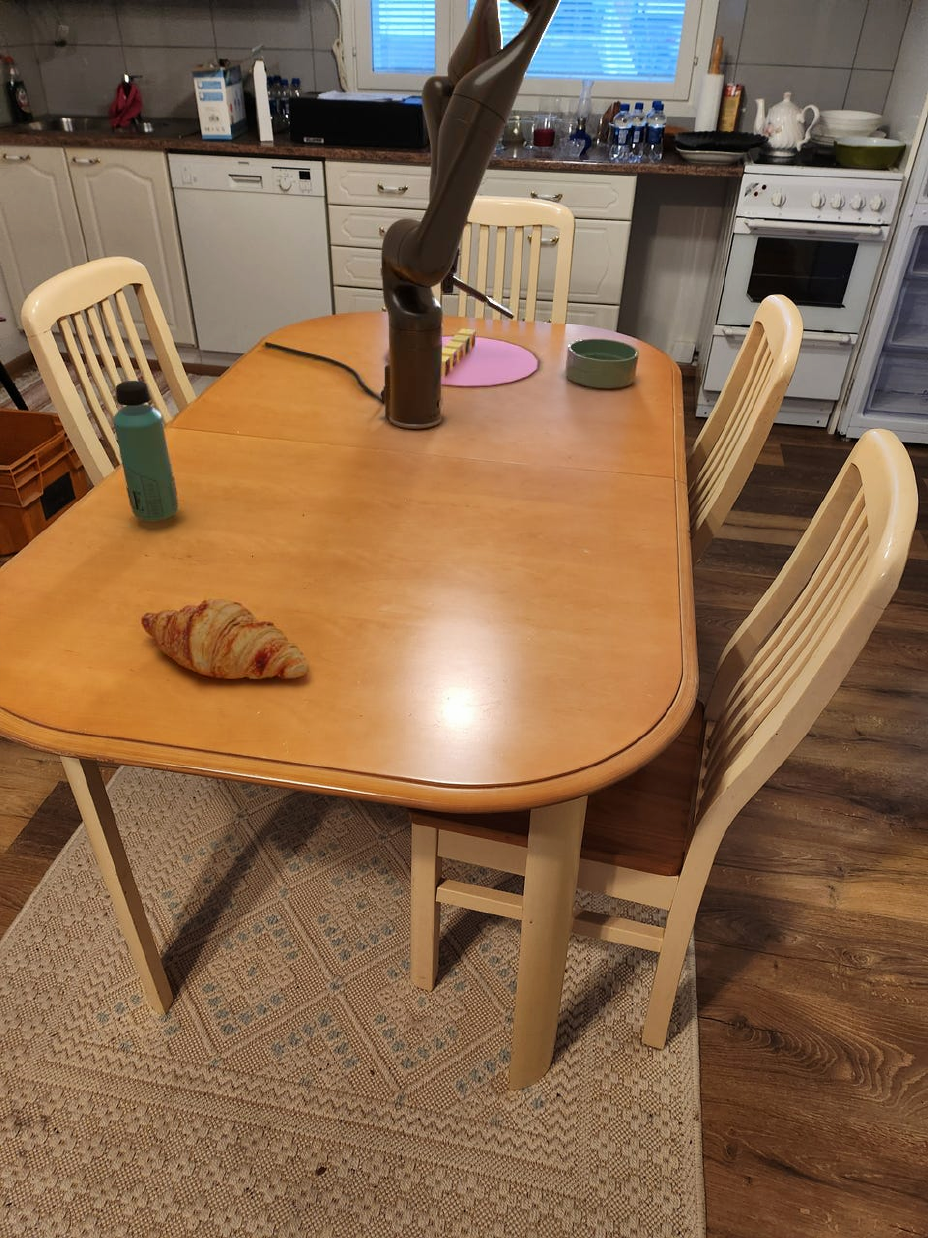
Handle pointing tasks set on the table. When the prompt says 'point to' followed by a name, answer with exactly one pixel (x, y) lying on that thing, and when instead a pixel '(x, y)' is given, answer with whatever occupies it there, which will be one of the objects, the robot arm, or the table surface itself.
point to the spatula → (482, 298)
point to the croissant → (225, 641)
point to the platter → (483, 361)
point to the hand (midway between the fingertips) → (446, 291)
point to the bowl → (601, 363)
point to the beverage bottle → (144, 454)
